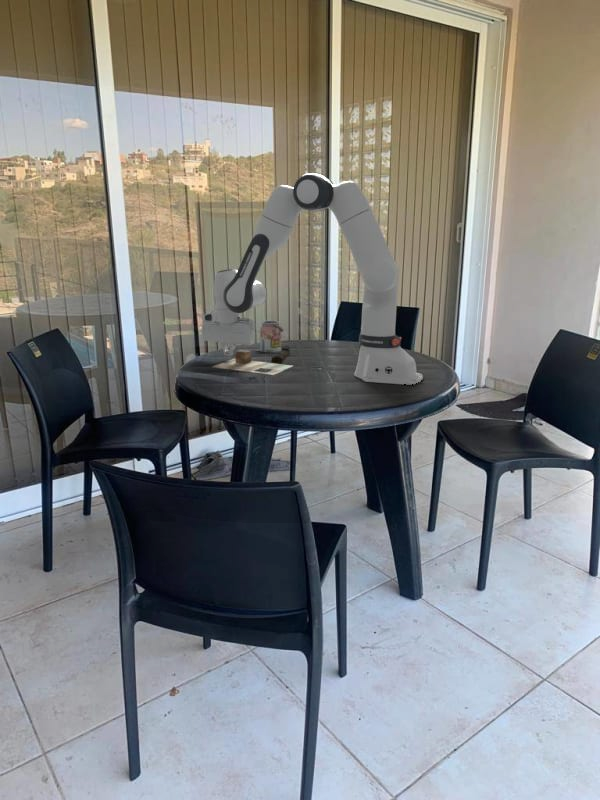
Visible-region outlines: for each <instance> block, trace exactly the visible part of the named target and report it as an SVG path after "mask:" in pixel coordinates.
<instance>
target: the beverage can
mask: <svg viewBox="0 0 600 800" xmlns="http://www.w3.org/2000/svg"><path fill="white" fill-rule="evenodd" d="M259 331H260V333H259V334H260V335H259V338H260V342H259V343H260V344H259V346H260V347H259V349H260V352H262V353H271V354H279V353H280V352H281V351H282V333H283V332H284V331H285V329H284V328H283V327H282V326H281V325H280V322H279V321H277V320H263V321H262V323H261V327H260V330H259Z"/></svg>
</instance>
